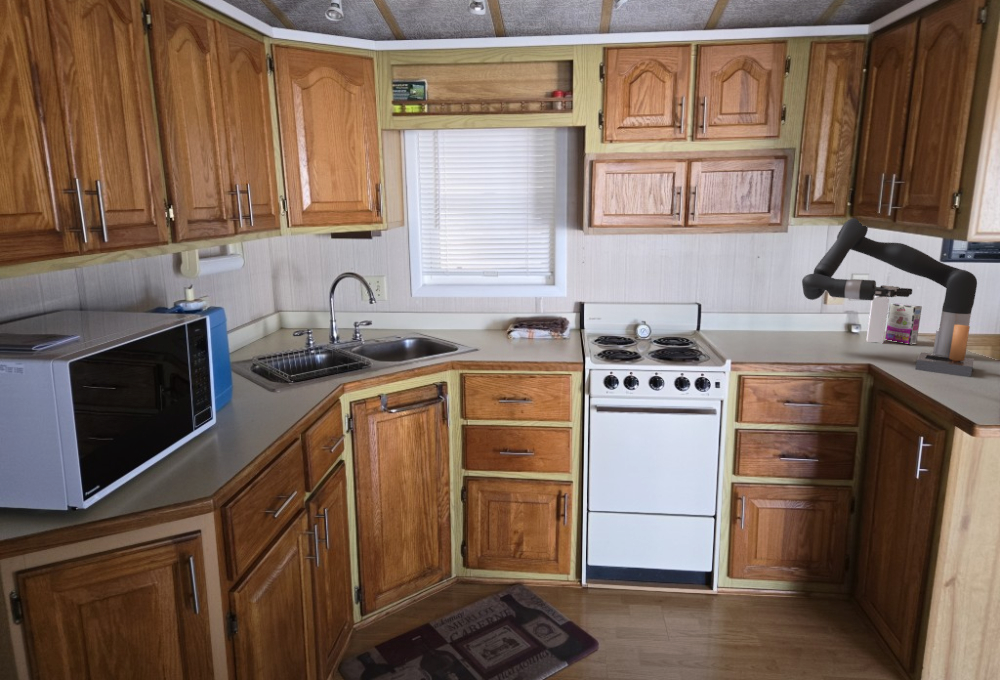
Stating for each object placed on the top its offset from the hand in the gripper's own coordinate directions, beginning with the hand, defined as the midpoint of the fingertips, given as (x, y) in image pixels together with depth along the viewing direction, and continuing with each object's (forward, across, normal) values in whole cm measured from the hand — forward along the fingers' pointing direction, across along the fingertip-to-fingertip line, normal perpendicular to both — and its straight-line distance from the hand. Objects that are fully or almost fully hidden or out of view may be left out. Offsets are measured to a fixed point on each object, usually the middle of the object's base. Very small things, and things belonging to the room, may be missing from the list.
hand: (910, 292), depth 234 cm
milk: (-14, +41, +26) cm, 50 cm away
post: (+16, -1, +26) cm, 31 cm away
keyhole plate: (+13, -1, +26) cm, 29 cm away
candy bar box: (-5, +46, +26) cm, 54 cm away
